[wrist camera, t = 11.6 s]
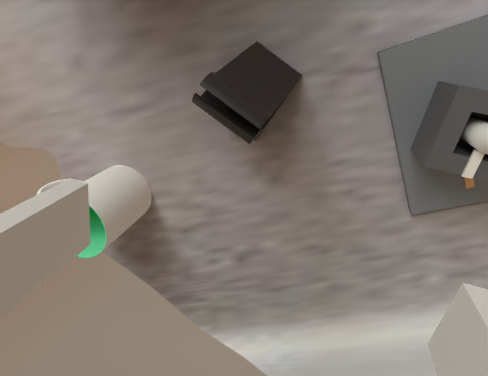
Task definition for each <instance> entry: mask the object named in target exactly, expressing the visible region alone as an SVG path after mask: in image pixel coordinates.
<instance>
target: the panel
mask: <svg viewBox="0 0 488 376" xmlns="http://www.w3.org/2000/svg"><path fill="white" fill-rule="evenodd" d="M377 53H378V57H379V62H380V67H381V72H382V77H383V82H384V87H385V92H386V97H387V102H388V107H389V112H390V117H391V122H392V127H393V132H394V137H395V141H396V146H397V151H398V156H399V161H400V166H401V171H402V176H403V181H404V186H405V191H406V196H407V201H408V206H409V211H410V213H411V215H413V214H418V213H424V212H430V211H435V210H441V209H446V208H452V207H457V206H463V205H468V204H474V203H480V202H485V201H488V182H486V181H482V180H478V179H474V178H472V179H470V178H466V177H462V176H461V175H457V174H453V173H449V172H445V171H441V170H437V169H433V168H428V167H424V166H423V164H422V163H421V162H420V161H419V159H418V158H417V157H416V156H415V154H414V153H413V152H412V151H411V147H412V144H413V142H414V139H415V137H416V134H417V132H418V129H419V127H420V124H421V122H422V119H423V117H424V114H425V112H426V110H427V107H428V105H429V102H430V100H431V97H432V95H433V92H434V90H435V87H436V85H437V82H438V81H443V82H448V83H452V84H457V85H462V86H467V87H472V88H477V89H482V90H487V91H488V15H486V16H483V17H480V18H477V19H474V20H471V21H468V22H465V23H462V24H459V25H456V26H453V27H450V28H448V29H445V30H442V31H439V32H436V33H433V34H430V35H427V36H424V37H421V38H418V39H415V40H412V41H409V42H406V43H403V44H401V45H398V46H395V47H392V48H389V49H386V50H383V51H380V52H377ZM485 117H486V115H485V114H481V113H476V112H472V113H471V115H470V117H469V119H468V121H467V123H466V125H465V128H464V130H463V132H462V134H461V136H460V138H459V141H458V143H460V144H465V145H469V146H473V147H474V148H475V149H477V150H478V151H480V152H481V153H484V154H488V122H486V121H484V119H485Z"/></svg>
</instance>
